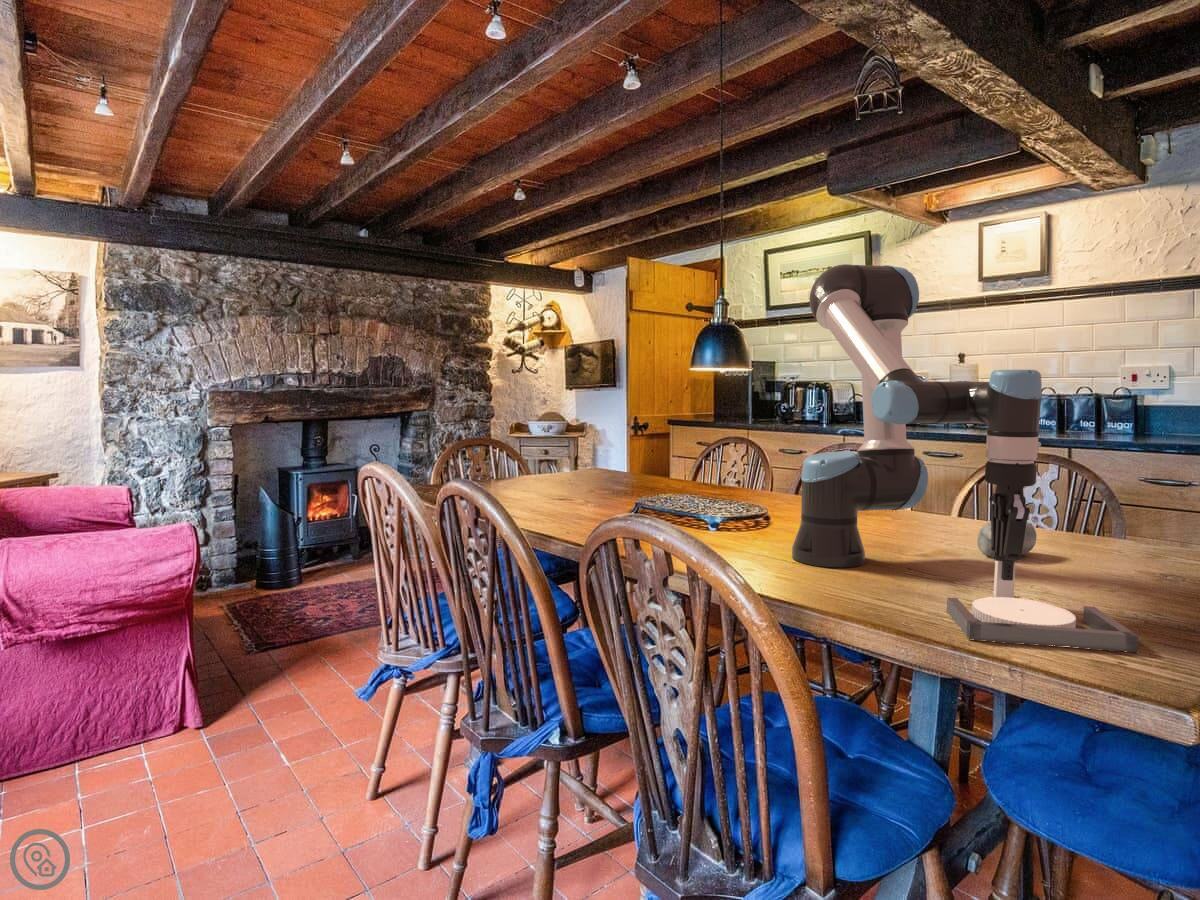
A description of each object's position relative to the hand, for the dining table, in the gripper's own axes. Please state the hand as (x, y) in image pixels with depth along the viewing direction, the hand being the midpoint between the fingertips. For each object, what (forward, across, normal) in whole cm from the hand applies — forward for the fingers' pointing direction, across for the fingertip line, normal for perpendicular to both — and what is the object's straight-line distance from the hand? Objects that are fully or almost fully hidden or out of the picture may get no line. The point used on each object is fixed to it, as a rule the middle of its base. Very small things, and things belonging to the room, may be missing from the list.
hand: (1003, 596), depth 120 cm
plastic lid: (+2, -10, 0) cm, 11 cm away
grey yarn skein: (+2, +39, -12) cm, 41 cm away
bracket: (+1, -14, 0) cm, 14 cm away
